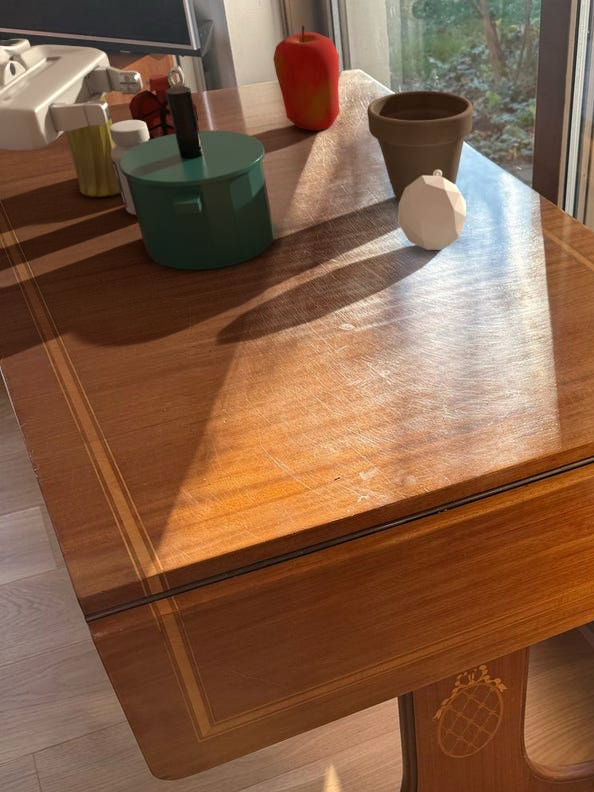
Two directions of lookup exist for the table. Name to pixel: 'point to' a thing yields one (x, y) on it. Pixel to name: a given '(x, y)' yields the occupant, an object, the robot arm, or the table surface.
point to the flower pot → (420, 134)
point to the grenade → (157, 104)
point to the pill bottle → (125, 139)
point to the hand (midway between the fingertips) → (123, 97)
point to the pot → (205, 221)
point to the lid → (190, 151)
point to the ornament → (432, 212)
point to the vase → (94, 159)
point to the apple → (308, 79)
